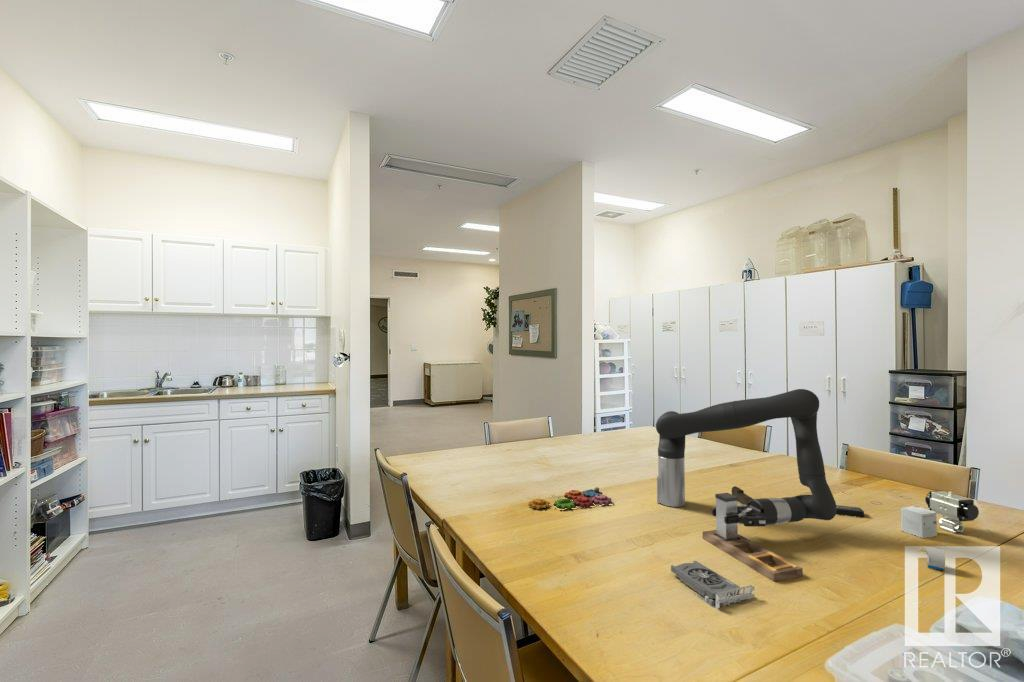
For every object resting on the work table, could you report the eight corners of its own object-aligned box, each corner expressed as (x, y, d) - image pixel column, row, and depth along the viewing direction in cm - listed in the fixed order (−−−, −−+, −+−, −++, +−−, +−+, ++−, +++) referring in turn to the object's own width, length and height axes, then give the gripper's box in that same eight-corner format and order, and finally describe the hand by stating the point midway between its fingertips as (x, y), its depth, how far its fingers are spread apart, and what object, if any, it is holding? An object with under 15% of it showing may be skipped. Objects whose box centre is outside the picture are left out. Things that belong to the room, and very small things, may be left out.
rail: (702, 538, 137) (702, 530, 137) (727, 534, 140) (727, 527, 140) (773, 581, 112) (773, 572, 112) (802, 576, 115) (802, 567, 115)
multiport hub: (864, 518, 152) (864, 511, 152) (813, 513, 158) (813, 506, 158) (860, 514, 156) (860, 507, 156) (810, 508, 162) (810, 502, 162)
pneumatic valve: (937, 522, 147) (936, 485, 147) (979, 538, 136) (979, 497, 136) (922, 524, 146) (922, 486, 146) (964, 539, 135) (963, 498, 135)
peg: (715, 541, 135) (715, 494, 135) (727, 539, 137) (727, 492, 137) (726, 547, 131) (725, 498, 131) (738, 545, 132) (737, 497, 132)
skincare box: (922, 539, 135) (922, 514, 135) (900, 531, 141) (900, 507, 141) (937, 536, 137) (937, 512, 137) (914, 528, 143) (914, 505, 143)
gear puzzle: (534, 516, 158) (534, 504, 158) (521, 501, 173) (521, 490, 173) (616, 506, 166) (615, 495, 166) (596, 492, 182) (595, 482, 182)
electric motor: (918, 559, 123) (918, 540, 123) (943, 564, 120) (942, 545, 120) (920, 569, 118) (919, 550, 118) (945, 575, 115) (945, 555, 115)
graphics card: (758, 586, 105) (718, 596, 101) (758, 603, 105) (718, 613, 100) (703, 555, 121) (666, 562, 116) (703, 570, 120) (666, 577, 116)
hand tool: (767, 515, 155) (767, 502, 155) (755, 515, 155) (755, 502, 155) (739, 496, 174) (739, 484, 174) (729, 497, 174) (729, 484, 174)
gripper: (752, 491, 144) (703, 495, 141) (787, 507, 130) (734, 512, 126) (752, 515, 144) (703, 519, 140) (788, 533, 130) (735, 539, 126)
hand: (718, 515), depth 133 cm, fingers open, 5 cm apart
